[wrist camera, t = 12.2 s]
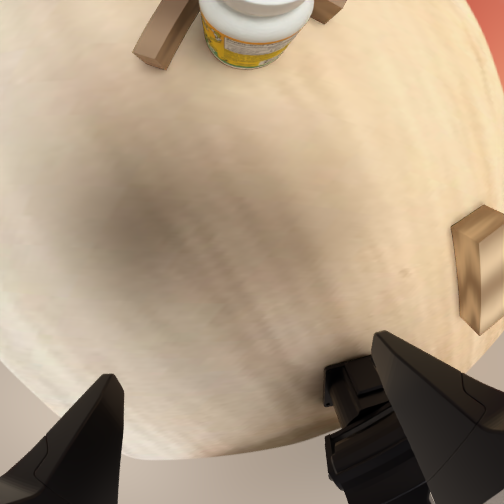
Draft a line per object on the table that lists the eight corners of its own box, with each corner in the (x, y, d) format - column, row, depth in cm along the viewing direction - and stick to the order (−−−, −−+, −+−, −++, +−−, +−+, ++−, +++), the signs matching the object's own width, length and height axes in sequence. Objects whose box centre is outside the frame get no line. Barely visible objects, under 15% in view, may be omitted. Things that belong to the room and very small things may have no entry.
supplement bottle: (280, 76, 17) (329, 35, 9) (199, 66, 17) (180, 14, 8) (289, 9, 15) (336, -59, 7) (211, -1, 15) (206, -80, 6)
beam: (489, 293, 27) (509, 310, 23) (460, 316, 28) (479, 336, 24) (484, 203, 22) (512, 216, 19) (451, 226, 23) (478, 243, 19)
